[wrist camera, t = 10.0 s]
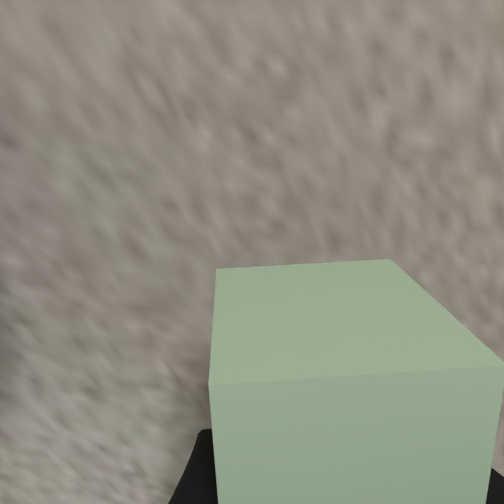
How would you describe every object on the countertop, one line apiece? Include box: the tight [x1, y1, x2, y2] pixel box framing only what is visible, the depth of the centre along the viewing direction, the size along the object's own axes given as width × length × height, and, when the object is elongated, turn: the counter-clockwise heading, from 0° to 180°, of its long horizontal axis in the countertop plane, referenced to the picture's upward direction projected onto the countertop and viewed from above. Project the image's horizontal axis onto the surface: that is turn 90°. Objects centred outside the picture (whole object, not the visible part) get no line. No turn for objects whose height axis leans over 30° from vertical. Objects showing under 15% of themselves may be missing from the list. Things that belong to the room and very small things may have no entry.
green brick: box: [208, 259, 504, 504], centre depth 10 cm, size 9×4×5 cm, turn 2°
